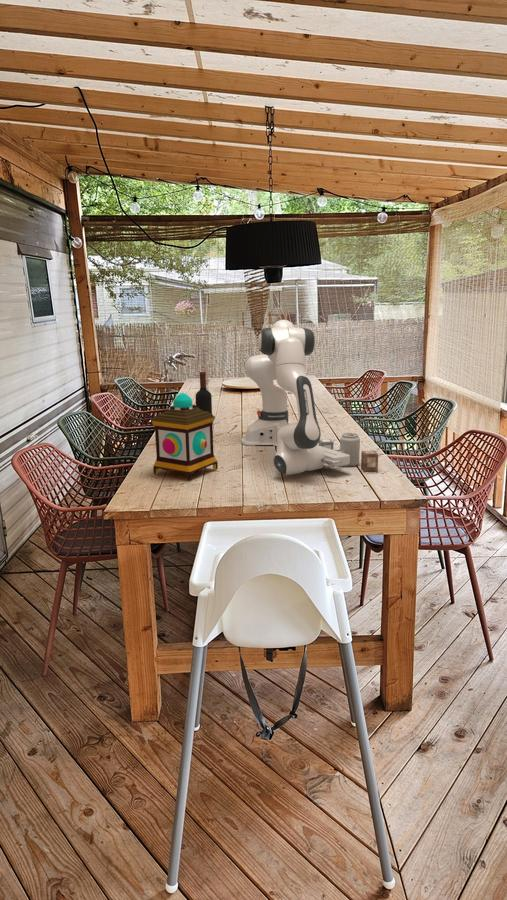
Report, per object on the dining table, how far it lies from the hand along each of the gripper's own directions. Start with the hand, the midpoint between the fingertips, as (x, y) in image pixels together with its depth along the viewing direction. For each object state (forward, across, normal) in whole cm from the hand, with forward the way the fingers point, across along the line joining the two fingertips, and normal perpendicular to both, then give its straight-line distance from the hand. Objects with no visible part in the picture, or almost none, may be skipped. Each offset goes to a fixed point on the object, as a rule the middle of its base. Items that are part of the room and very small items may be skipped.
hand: (342, 452), depth 222 cm
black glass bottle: (0, +105, +6) cm, 105 cm away
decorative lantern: (-52, +28, +6) cm, 60 cm away
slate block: (+3, +13, +6) cm, 14 cm away
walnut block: (+4, -11, +6) cm, 13 cm away
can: (+4, 0, +6) cm, 7 cm away
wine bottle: (-16, +79, +6) cm, 81 cm away
